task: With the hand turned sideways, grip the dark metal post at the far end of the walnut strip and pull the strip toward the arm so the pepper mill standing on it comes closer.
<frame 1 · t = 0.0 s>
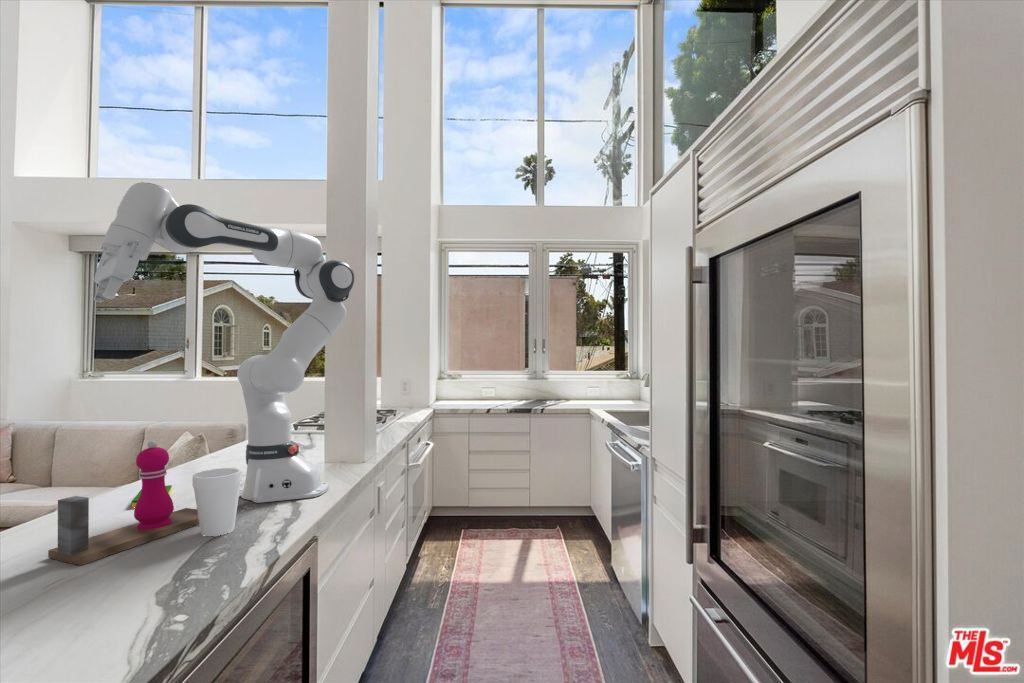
hand: (102, 300, 115), 52 cm above the worktop, tool tilted 20°, fingers open, 8 cm apart
dish sponge: (153, 502, 138), on the worktop
strip: (140, 509, 110), point 6 cm above the worktop, slide at -0.2 cm, touching pepper mill
foam cup: (217, 532, 112), on the worktop
pepper mill: (154, 531, 113), resting on strip
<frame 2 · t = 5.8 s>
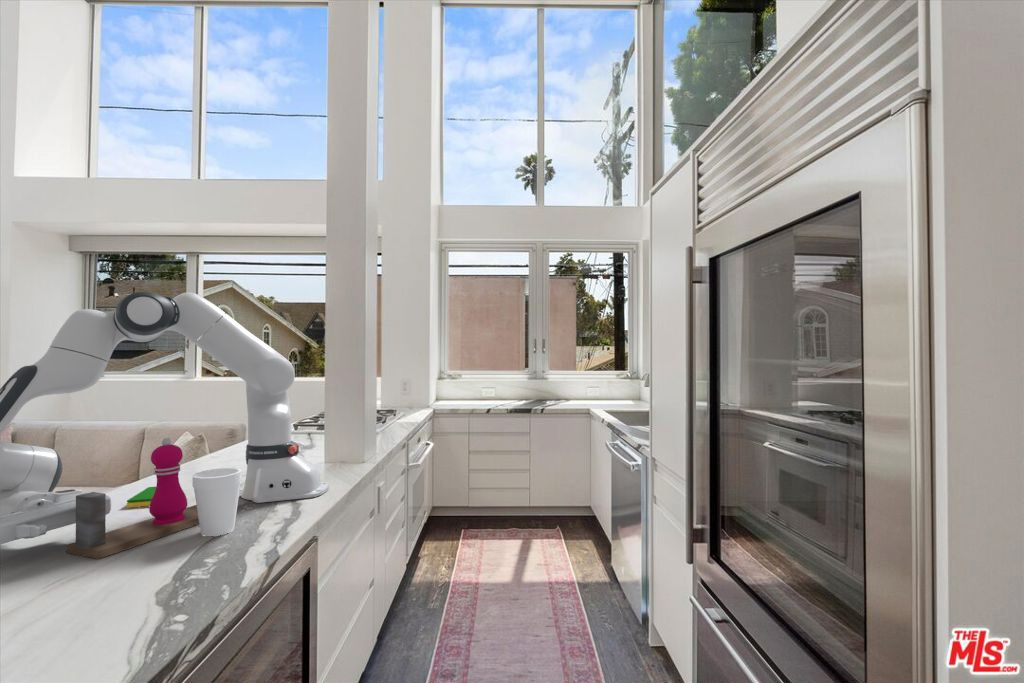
hand: (72, 522, 99), 7 cm above the worktop, tool horizontal, fingers open, 8 cm apart
strip: (154, 505, 113), point 6 cm above the worktop, slide at 2.8 cm, touching pepper mill
pepper mill: (169, 526, 116), resting on strip
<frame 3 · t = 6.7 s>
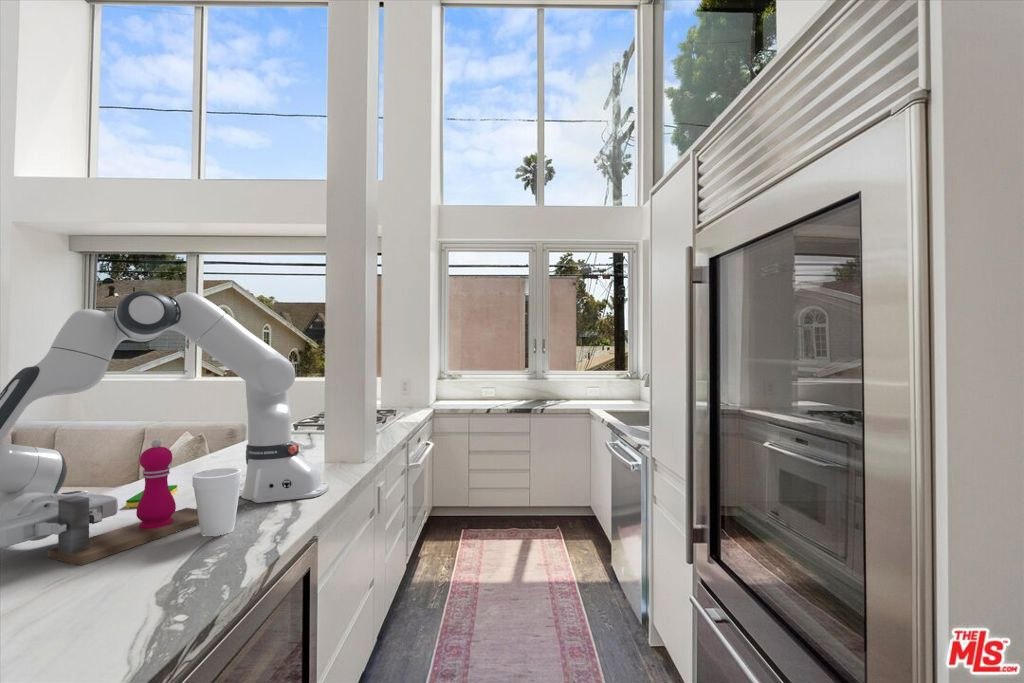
hand: (81, 523, 98), 7 cm above the worktop, tool horizontal, fingers open, 5 cm apart
strip: (140, 509, 110), point 6 cm above the worktop, slide at 0.0 cm, touching gripper, pepper mill
pepper mill: (156, 530, 113), resting on strip
everything else where it was.
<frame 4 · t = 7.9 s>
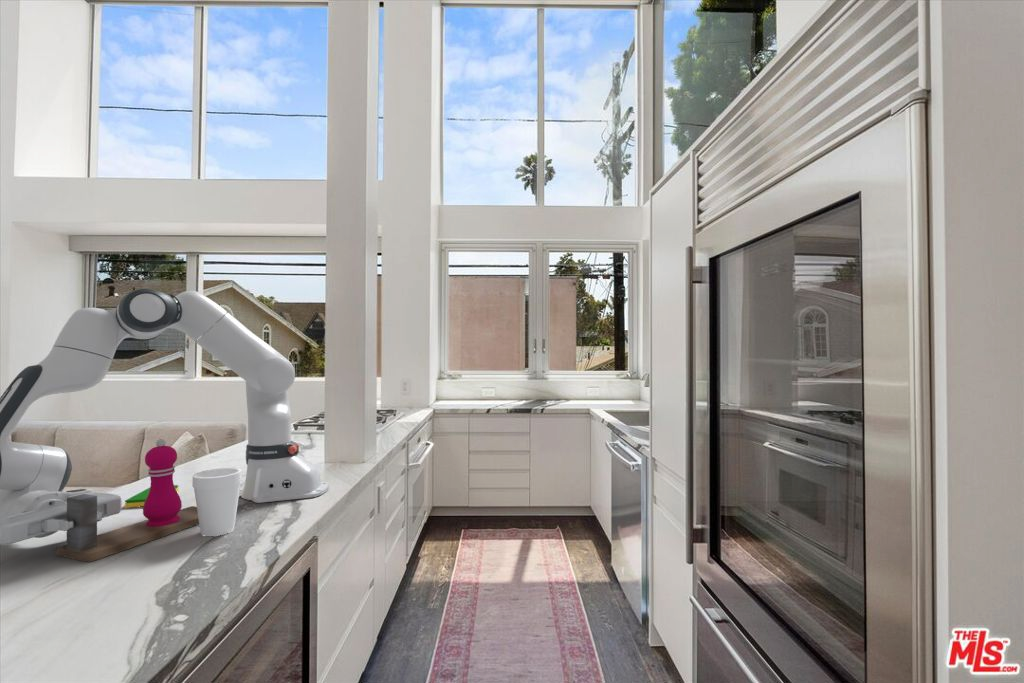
hand: (84, 521, 99), 7 cm above the worktop, tool horizontal, fingers open, 3 cm apart
strip: (147, 507, 111), point 6 cm above the worktop, slide at 1.3 cm, touching gripper, pepper mill
pepper mill: (163, 528, 114), resting on strip
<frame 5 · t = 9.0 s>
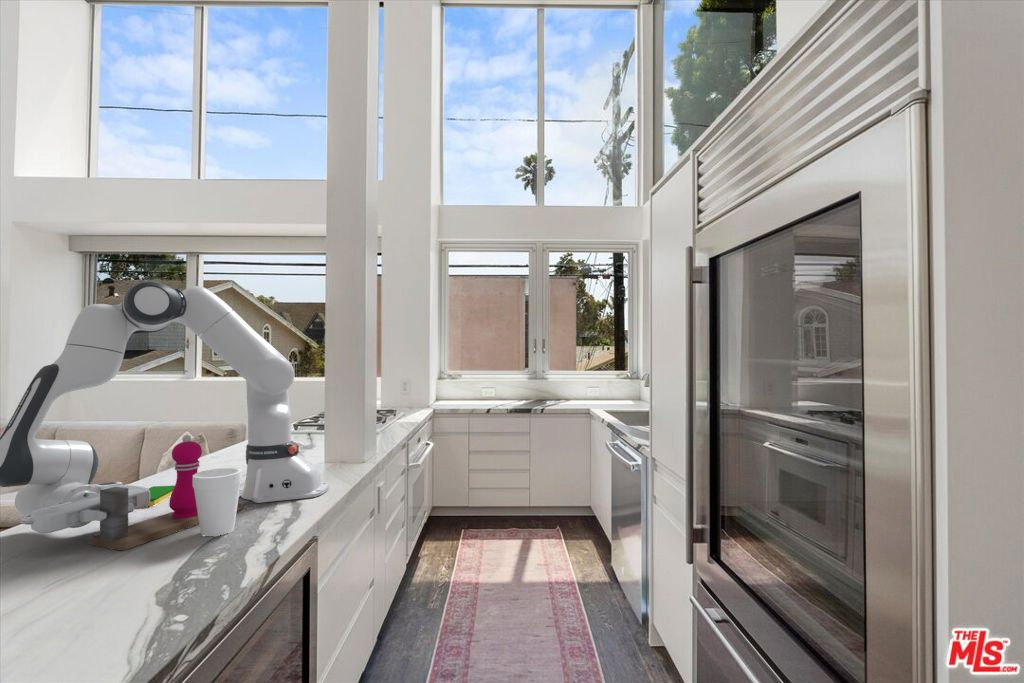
hand: (118, 512, 105), 7 cm above the worktop, tool horizontal, fingers open, 3 cm apart
strip: (173, 500, 117), point 6 cm above the worktop, slide at 7.2 cm, touching gripper, pepper mill
pepper mill: (187, 519, 120), resting on strip
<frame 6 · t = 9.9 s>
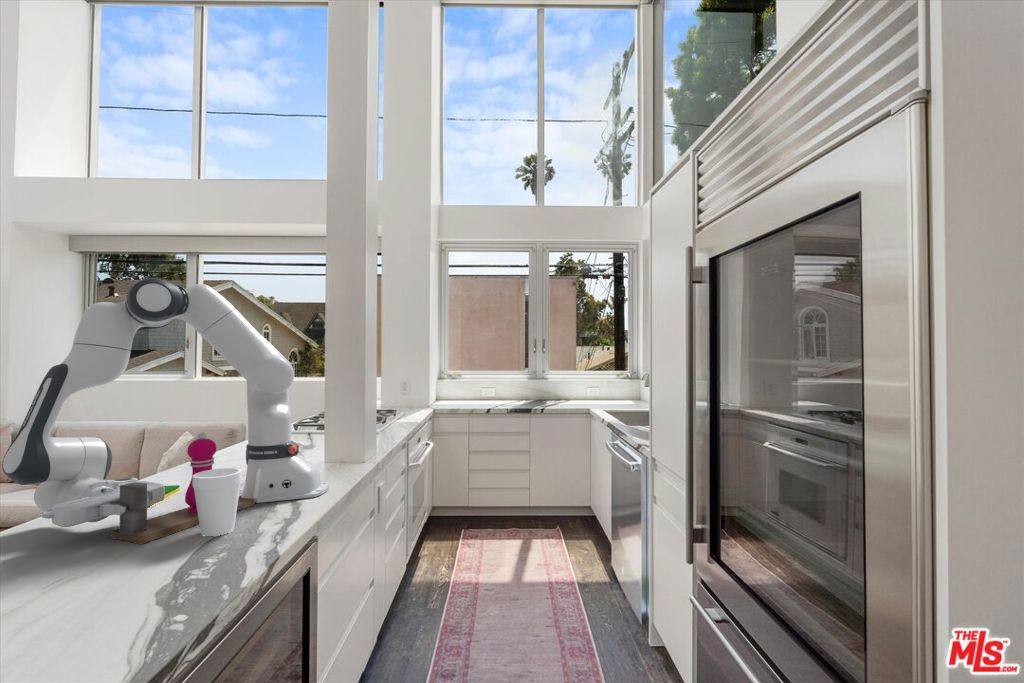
hand: (135, 506, 108), 7 cm above the worktop, tool horizontal, fingers open, 3 cm apart
strip: (189, 495, 120), point 6 cm above the worktop, slide at 10.9 cm, touching gripper, pepper mill
pepper mill: (202, 515, 123), resting on strip
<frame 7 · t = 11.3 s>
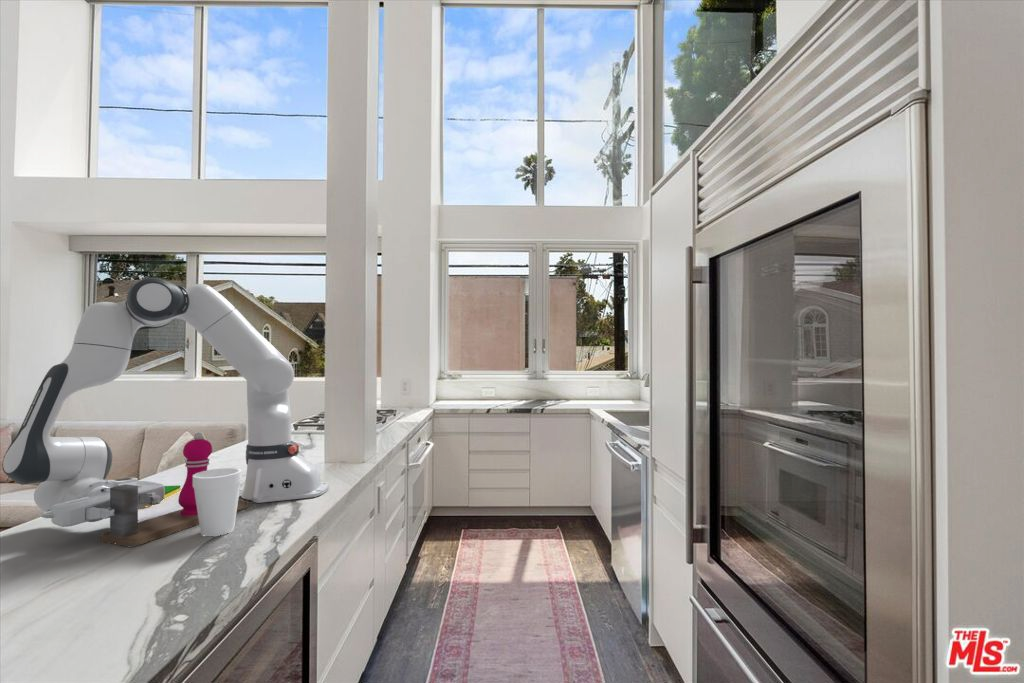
hand: (134, 506, 108), 7 cm above the worktop, tool horizontal, fingers open, 8 cm apart
strip: (181, 497, 118), point 6 cm above the worktop, slide at 9.5 cm, touching pepper mill
pepper mill: (195, 517, 122), resting on strip
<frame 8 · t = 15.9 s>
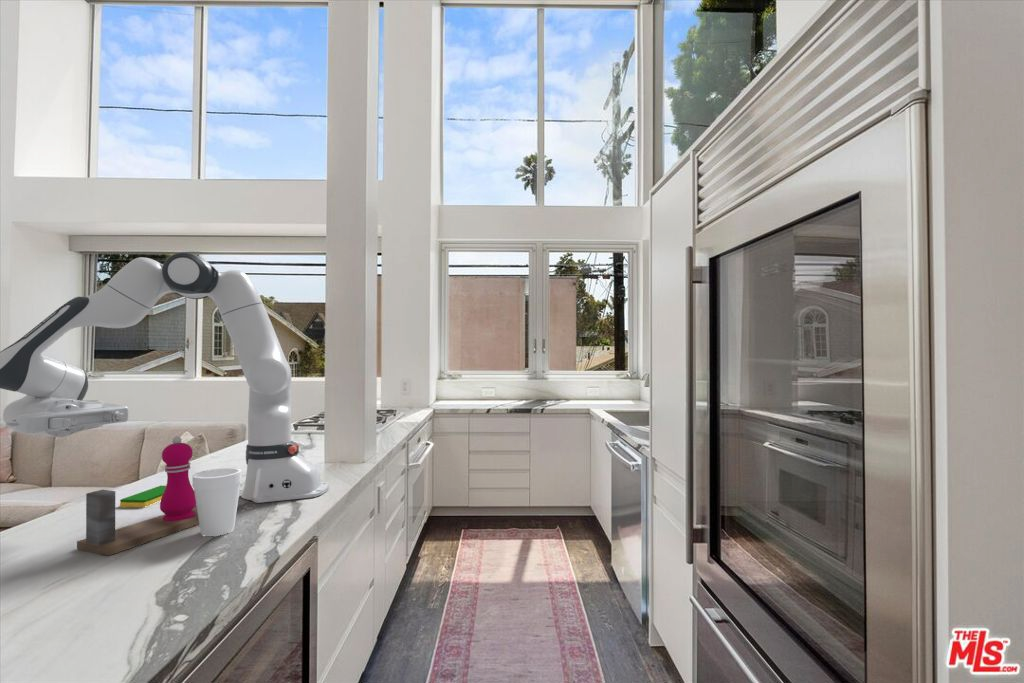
hand: (97, 420, 113), 25 cm above the worktop, tool horizontal, fingers open, 8 cm apart
strip: (162, 503, 114), point 6 cm above the worktop, slide at 4.8 cm, touching pepper mill
pepper mill: (179, 522, 118), resting on strip
at the end: strip slide at 11.2 cm; pepper mill moved 12.3 cm from its start; pepper mill tilted 2° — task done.
